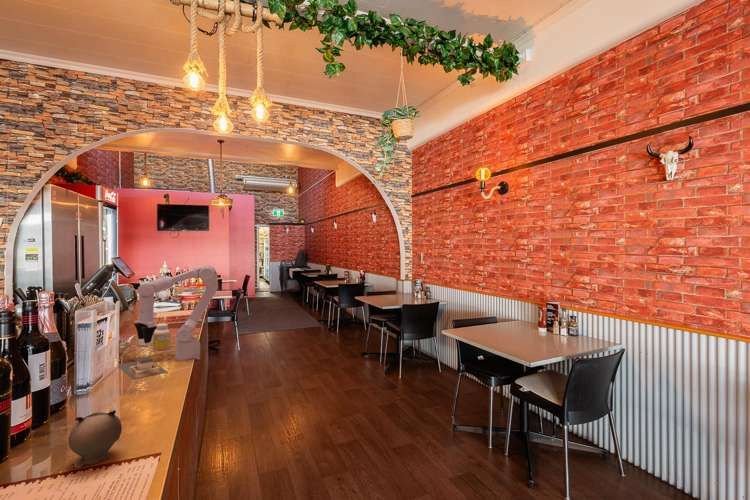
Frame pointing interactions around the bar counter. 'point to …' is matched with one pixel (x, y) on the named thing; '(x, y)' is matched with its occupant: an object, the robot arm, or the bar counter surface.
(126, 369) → the mat
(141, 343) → the syrup box
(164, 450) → the bar counter surface
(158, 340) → the supplement bottle
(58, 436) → the bar counter surface
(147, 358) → the plug
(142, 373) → the frame
